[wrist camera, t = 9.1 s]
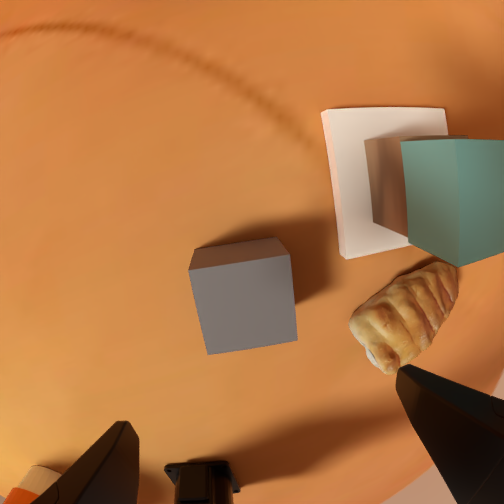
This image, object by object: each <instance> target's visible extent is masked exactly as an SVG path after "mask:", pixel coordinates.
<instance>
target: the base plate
mask: <svg viewBox="0 0 504 504" xmlns="http://www.w3.org/2000/svg"><path fill="white" fill-rule="evenodd" d="M321 117H322V123H323V129H324V134H325V140H326V147H327V153H328V159H329V166H330V173H331V180H332V188H333V196H334V204H335V212H336V221H337V231H338V241H339V252H340V255H341V256H343V257H344V258H345V259H346V260H347V259H351V258H356V257H361V256H365V255H370V254H374V253H379V252H383V251H387V250H392V249H396V248H401V247H405V246H409V245H412V244H410V243H408V237H405V236H403V235H401V234H399V233H396V232H394V231H392V230H389V229H387V228H385V227H383V226H380V225H378V224H375V223H373V216H372V204H371V194H370V184H369V176H368V168H367V160H366V153H365V146H364V140H372V139H380V138H389V137H398V136H426V135H448V129H447V122H446V116H445V110H444V109H441V108H418V107H368V108H344V109H328V110H325V111H323V112H321Z"/></svg>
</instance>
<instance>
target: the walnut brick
mask: <svg viewBox="0 0 504 504" xmlns="http://www.w3.org/2000/svg"><path fill="white" fill-rule="evenodd" d="M443 139H468V135H426V136H398V137H389V138H380V139H372V140H364V146H365V153H366V160H367V168H368V176H369V184H370V194H371V204H372V216H373V223H375V224H378V225H380V226H383V227H385V228H387V229H389V230H392V231H394V232H396V233H399V234H401V235H403V236H405V237H408V221H407V203H406V189H405V178H404V168H403V159H402V151H401V144H400V142H404V141H421V140H443Z"/></svg>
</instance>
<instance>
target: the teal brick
mask: <svg viewBox="0 0 504 504" xmlns="http://www.w3.org/2000/svg"><path fill="white" fill-rule="evenodd" d="M400 144H401V151H402V159H403V168H404V178H405V189H406V203H407V221H408V243H410V244H412V245H414V246H416V247H418V248H420V249H422V250H424V251H427V252H429V253H431V254H433V255H435V256H437V257H439V258H441V259H443V260H445V261H446V262H448V263H450V264H452V265H454V266H456V267H461V266H464V265H467V264H470V263H473V262H476V261H479V260H482V259H485V258H488V257H491V256H494V255H497V254H500V253H503V252H504V140H482V139H443V140H421V141H404V142H400Z"/></svg>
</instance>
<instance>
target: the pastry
mask: <svg viewBox="0 0 504 504" xmlns="http://www.w3.org/2000/svg"><path fill="white" fill-rule="evenodd" d="M457 297H458V281H457V277H456V269H455V267H454V266H452V265H450V264H446V263H442V262H434V263H431V264H429V265H427V266H425V267H423V268H422V269H418V270H416V271H414V272H412V273H410V274H406V275H402V276H398V277H397V278H395V279H394V281H393V283H391V284H390V285H388V286H386V287H385V288H384V289H383V290H381V291H380V292H378V293H377V294H375V295H374V296H372V297H371V298H370V299H369V300H367V301H366V302H365V303H364V304H363V305H361V306H360V307H359V308H358V309H357V310H356V311H355V312H354V313H353V314H352V316H351V318H350V319H349V324H348V326H349V328H350V330H351V332H352V333H353V335H354V337H355V338H356V339H357V340H358V341H359V342H360V344H362V345H363V346H364V347H365V349H366V354H367V357H368V359H369V360H370V361H371V363H372V364H374V365H375V366H376V367H378V368H379V369H380V370H381V371H382V372H384V373H385V374H387V375H392V374H395V373H396V372H397V370H398V368H400V367H401V366H403V365H405V364H407V363H408V362H410V361H411V360H413V359H414V358H416V357H417V356H418V355H419V354H420V353H421V352H422V351H424V350H426V349H427V348H428V347H429V346H430V345H431V344H432V340H433V338H434V336H435V335H436V334H437V332H438V329H439V328H440V326H441V325H442V323H443V322H444V321H445V320H446V319H447V318H448V316H449V314H450V311H451V310H452V309H453V306H454V304H455V301H456V299H457Z"/></svg>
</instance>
